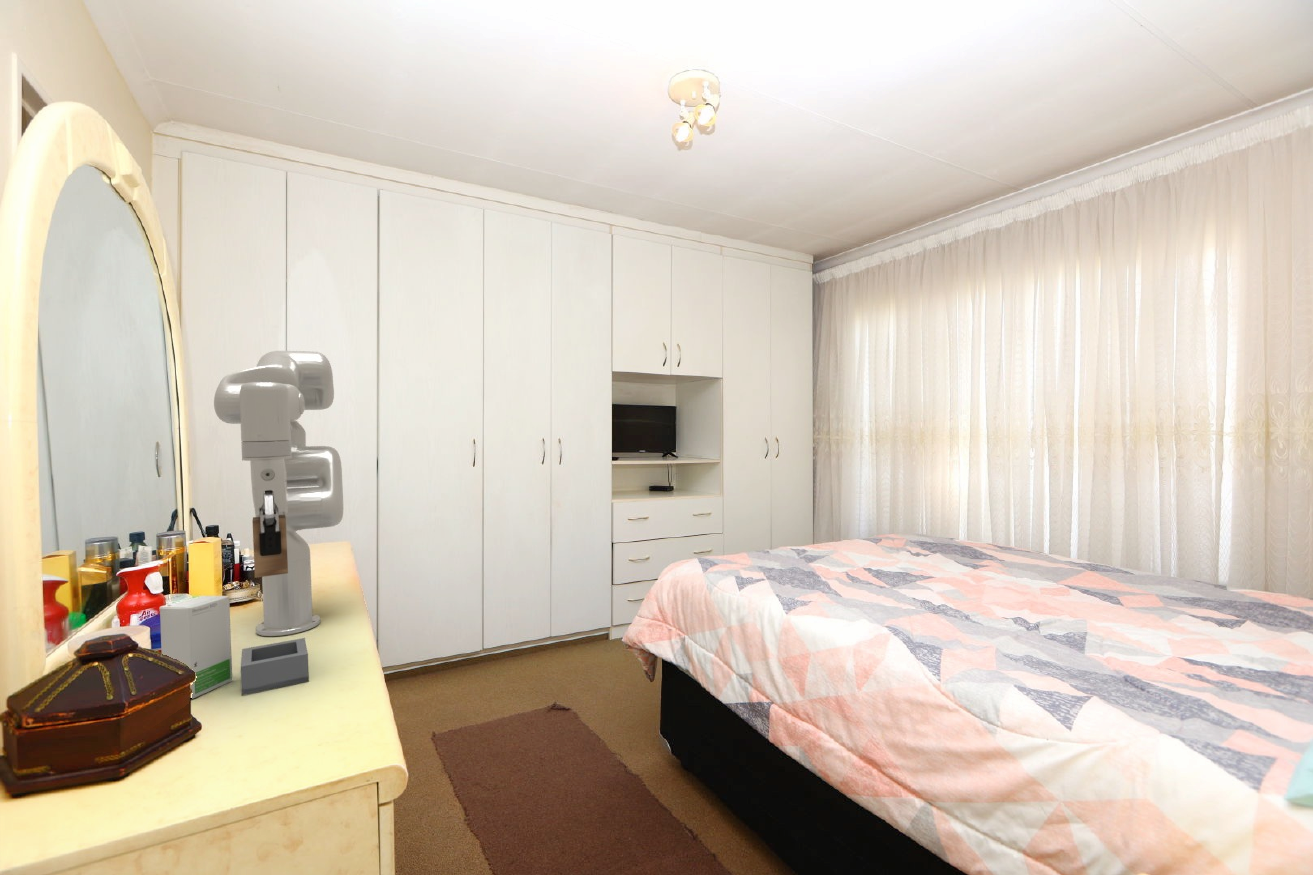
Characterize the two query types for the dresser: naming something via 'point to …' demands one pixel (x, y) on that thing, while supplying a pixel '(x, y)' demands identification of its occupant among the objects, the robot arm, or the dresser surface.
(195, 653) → the skincare box
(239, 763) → the dresser surface
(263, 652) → the grey well
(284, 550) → the oak block
